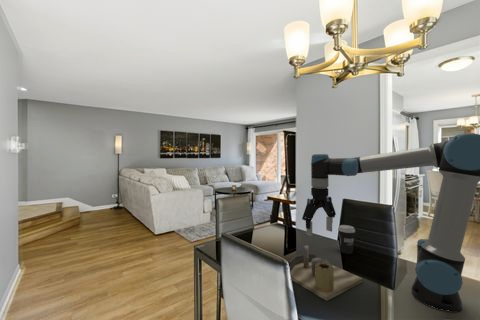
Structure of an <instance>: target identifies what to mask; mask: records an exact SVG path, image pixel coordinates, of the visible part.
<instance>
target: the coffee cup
mask: <svg viewBox="0 0 480 320" xmlns="http://www.w3.org/2000/svg"><path fill="white" fill-rule="evenodd" d="M337 230H338V236H339V247H340V248H339V249H340V252H341V253H342V254H345V255H346V254H347V255H351V254H353V252H354V241H355V233H356V229H355V227H354V226H352V225H349V224H348V225H347V224H341V225H339V226H338V228H337Z"/></svg>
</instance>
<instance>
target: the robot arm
mask: <svg viewBox="0 0 480 320" xmlns="http://www.w3.org/2000/svg"><path fill="white" fill-rule="evenodd" d="M310 160H311V162H310V165H311V166H310V169H311V170H310V171H311V173H310V174H311V181H310V182H311V188H310V189H311V191H310V192H311V193H310V194H311V197H312V198H307V200H306V206H305V209H304V212H303V215H302V218H301V219H302V221H305V229H306V230H305V231H306V232H305V233H306V236H308V237H313V221H312V219H313V218H314V216H315V214H316V212H317V210H319V209H321V208H322V209H323V211H324V212H325V214H326V219H325V221H326V224H325V226H326V229H325V230H326V231H328V232H333V220H334V219H333V218H336V217H335V216H336V215H337V213H336V210H335V207H334V204H333V201H332V197H331V196H329V188H328V187H329V176H345V177H354V176H357V175H358V174H363V173H364V174H365V173H374V172H382V171H391V170H392V171H393V170H401V169H413V168H421V167H422V168H424V167H431V166H432V167H434V168H435V169H437V168H438V172H439V173H440V175H442V179H441V180H442V181H441V184H440V188H439V192H438V193H439V194H438V196H437V202H436V205H435V210H434V213H433V218H432V222H431V226H430V229H429V236H428V239H425V238H424V239H423V238H421V239H418V240H417V242H416V243H417V244H416V248H417V250H416V252H417V253H416V254H417V255H416V267H415V268H414V269H415V274H416V277H415V280H414V281H413V284H412V286H411V295H412V294H413V295H412V296H413V297H414V298H415V299H416V298H417V299H418V300H419V301H418V300H417V299H416V300H417V301H418V302H420V301H421V302H420V303H422V302H423V303H425V304H427V305H426V306H428V305H430V306H433V307H435V308H438V309H437V310H439V309H443V310H449V311H457V312H459V311H458V310H460V311H462V309H463V300H462V298H461V296H460V294H459V291H460V290H461V289H462V286H463V283H464V282H463V277H462V274H463V269H464V265H465V261H466V257H465V256H464V255H463V253H462V252H461V250H462V248H463V247H462V246H463V243H464V239H465V235H466V231H467V227H468V224H469V219H470V216H471V211H472V208H473V204H474V199H475V196H476V192H477V188H478V184H479V182H480V134H479V133H473V132H470V133H469V132H465V133H460V134H457V135H454V136H452V137H451V138H449V139H448V140H445V141H441V142H436V143H431V144H430V145H429V146H425V147H417V148H411V149H406V150H398V151H392V152H385V153H377V154H371V155H364V156H363V155H362V156H357V157H351V158H350V157H346V158H345V157H344V158H333V157H331V158H330V156H329V154H328V153H322V154H321V153H317V154H316V153H315V154H311V159H310ZM423 303H422V304H423ZM425 304H424V305H425ZM430 306H429V307H430ZM433 307H432V308H433ZM435 308H434V309H435ZM461 308H462V309H461ZM443 310H442V311H443ZM449 311H448V312H449Z"/></svg>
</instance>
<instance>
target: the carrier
mask: <svg viewBox="0 0 480 320" xmlns="http://www.w3.org/2000/svg"><path fill="white" fill-rule="evenodd" d="M309 247H310V246H309V245H305V244H304V245H303V253H302V252H301V253H299V254H296V255H294V256H292V257H290V259H289V260H288V261H287V264H288V263H289V266H290V270H291V277H292V280H291V281H292V282H294V283H296V284H297V285H299V286H301V287H303V288H304V289H306V290H308V291H309V292H311V293H313V294H314V295H316V296H317V297H320V298H321V299H322V300H325V301H326V302H328V301H330V300H331V299H334V298H335V297H338V296H339V295H341V294H343V293H345V292H346V291H347V292H348V291H349V290H350V289H352V288H355V287H356V286H358V285H360V284H361V283H364V279H363V277H361V276H358V275H356V274H353V273H351V272H349V271H346V270H345V269H342V268H340V267H338V266H335V265H333V264H330V261H329V260H328V259H326V258H323V257H317V256H316V255H317V254H316V253H315V252H310V251H309V249H310V248H309ZM319 262H323V263H328V264H330V265H332V266H333V268H334V290H333V291H331V292H321V291H320V290H318V289H316V287H315V264H316V263H319Z"/></svg>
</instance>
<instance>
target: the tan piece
mask: <svg viewBox="0 0 480 320" xmlns="http://www.w3.org/2000/svg"><path fill="white" fill-rule="evenodd" d="M332 265H333V264H331V265H330V264H328V263H323V262H319V263H316V264H315V287H316V289H318V290H320V291H321V292H331V291H333V290H334V268H333V266H334V265H333V266H332Z"/></svg>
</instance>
